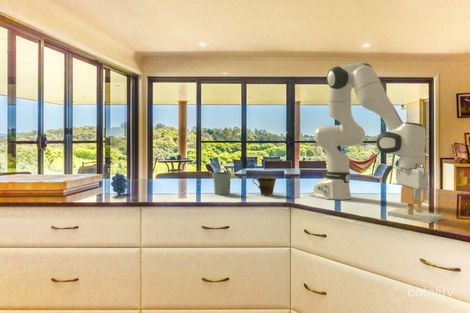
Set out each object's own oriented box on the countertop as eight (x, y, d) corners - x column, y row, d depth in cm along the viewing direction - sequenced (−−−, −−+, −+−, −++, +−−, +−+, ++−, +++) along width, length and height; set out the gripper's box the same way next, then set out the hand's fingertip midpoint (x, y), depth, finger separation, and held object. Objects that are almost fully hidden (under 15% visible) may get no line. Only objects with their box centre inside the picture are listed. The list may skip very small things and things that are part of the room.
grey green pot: (230, 195, 176) (230, 173, 175) (212, 195, 176) (212, 173, 175) (230, 192, 186) (231, 172, 185) (213, 192, 186) (213, 171, 185)
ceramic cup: (275, 193, 183) (275, 176, 182) (275, 196, 173) (276, 178, 172) (252, 193, 184) (253, 175, 183) (252, 196, 174) (252, 178, 173)
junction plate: (387, 215, 132) (388, 200, 131) (400, 211, 139) (401, 197, 139) (430, 223, 119) (431, 207, 119) (441, 218, 127) (442, 203, 126)
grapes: (117, 196, 168) (117, 174, 167) (108, 195, 170) (107, 173, 170) (132, 193, 178) (132, 172, 178) (123, 192, 181) (123, 171, 180)
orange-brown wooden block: (400, 202, 127) (401, 186, 127) (407, 201, 130) (408, 186, 129) (413, 204, 123) (413, 188, 122) (420, 203, 125) (420, 187, 125)
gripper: (434, 165, 115) (432, 203, 115) (408, 161, 135) (407, 194, 136) (416, 165, 115) (414, 202, 116) (393, 161, 136) (392, 193, 136)
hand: (410, 198), depth 126 cm, fingers closed on orange-brown wooden block, 7 cm apart
